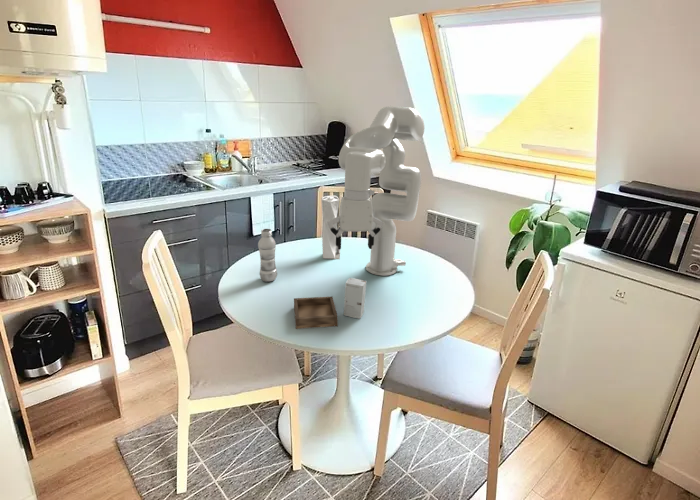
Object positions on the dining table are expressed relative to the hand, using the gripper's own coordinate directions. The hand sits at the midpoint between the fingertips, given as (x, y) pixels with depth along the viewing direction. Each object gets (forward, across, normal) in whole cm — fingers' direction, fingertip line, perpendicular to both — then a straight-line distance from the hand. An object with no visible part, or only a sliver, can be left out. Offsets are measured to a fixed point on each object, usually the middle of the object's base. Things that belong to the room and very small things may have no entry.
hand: (354, 247), depth 137 cm
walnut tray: (+24, +12, +1) cm, 27 cm away
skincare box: (+24, -1, +1) cm, 24 cm away
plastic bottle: (+23, +28, -26) cm, 45 cm away
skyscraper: (+23, +3, -47) cm, 53 cm away
